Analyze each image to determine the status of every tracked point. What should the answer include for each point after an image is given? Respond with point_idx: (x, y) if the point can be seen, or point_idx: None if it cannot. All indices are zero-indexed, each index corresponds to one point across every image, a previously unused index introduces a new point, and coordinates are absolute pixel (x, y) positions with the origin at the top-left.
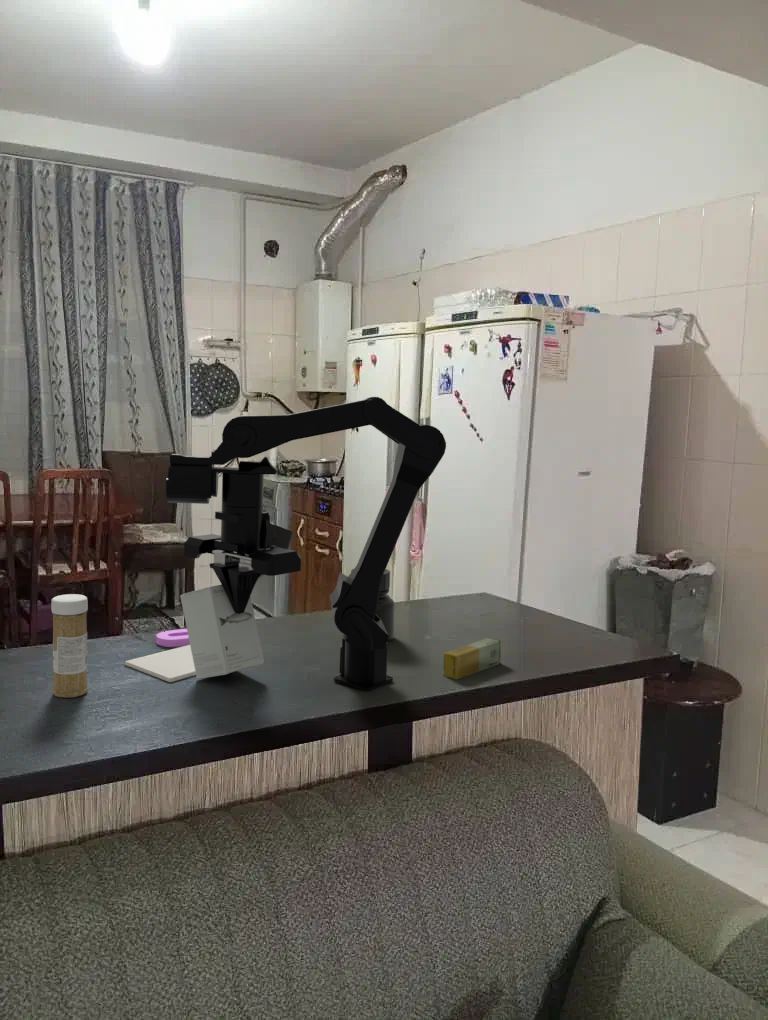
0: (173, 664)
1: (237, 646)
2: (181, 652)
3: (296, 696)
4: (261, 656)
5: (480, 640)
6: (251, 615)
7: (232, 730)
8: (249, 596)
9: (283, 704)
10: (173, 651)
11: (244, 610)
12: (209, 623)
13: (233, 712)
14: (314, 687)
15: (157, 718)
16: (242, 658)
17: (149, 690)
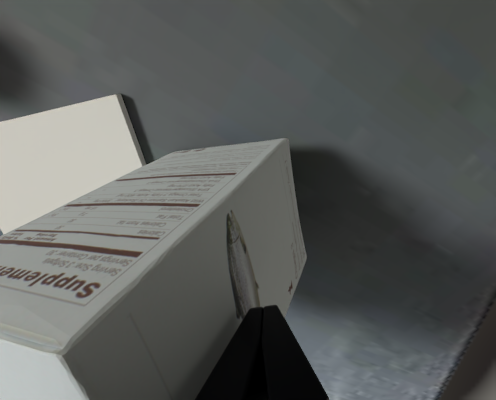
0: None
1: (285, 251)
2: (25, 210)
3: (438, 125)
4: (284, 150)
5: None
6: (229, 221)
7: (471, 311)
8: (311, 370)
9: (452, 179)
10: (12, 221)
11: (279, 310)
12: None
13: (406, 275)
14: (426, 40)
15: (338, 363)
16: (293, 222)
17: None
